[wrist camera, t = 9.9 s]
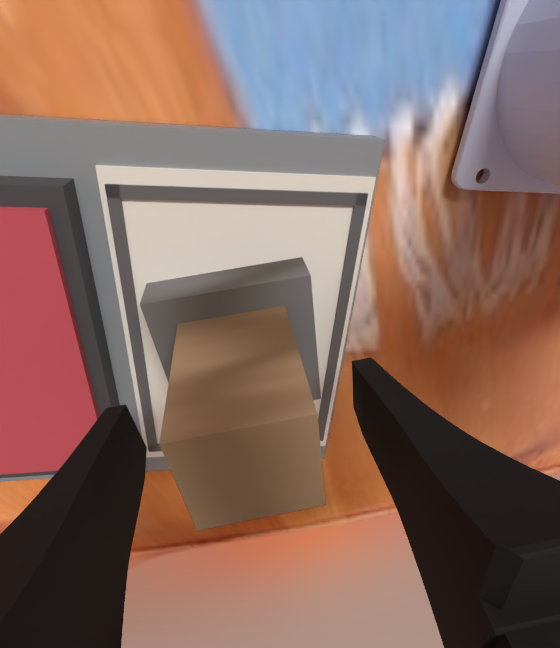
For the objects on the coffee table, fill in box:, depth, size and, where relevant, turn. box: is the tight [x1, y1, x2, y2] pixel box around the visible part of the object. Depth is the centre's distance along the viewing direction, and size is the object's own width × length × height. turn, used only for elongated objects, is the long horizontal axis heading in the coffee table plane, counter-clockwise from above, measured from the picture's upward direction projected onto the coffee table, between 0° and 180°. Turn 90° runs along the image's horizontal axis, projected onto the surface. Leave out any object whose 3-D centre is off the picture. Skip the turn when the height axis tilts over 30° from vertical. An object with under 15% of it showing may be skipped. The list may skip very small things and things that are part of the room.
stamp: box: [140, 257, 326, 531], centre depth 12 cm, size 6×6×6 cm
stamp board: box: [0, 114, 385, 482], centre depth 15 cm, size 18×15×2 cm
